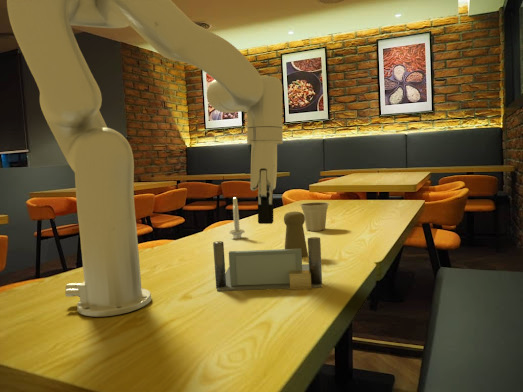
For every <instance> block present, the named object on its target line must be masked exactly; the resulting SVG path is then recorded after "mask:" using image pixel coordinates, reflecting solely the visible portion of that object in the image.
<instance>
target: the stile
mask: <svg viewBox="0 0 523 392" xmlns="http://www.w3.org/2000/svg"><path fill="white" fill-rule="evenodd" d="M321 245H322V244H321V237H318V236H312V237H308V238H307V252H308V256H307V257H308V264H309V270H305V271H289V278H290V288H289V290H290V291H297V290H300V291H301V290H312V289H313V288H311V284H313V285H318V284H322V285H323V273H322V272H323V271H322V270H323V267H322V250H321V249H322V247H321Z"/></svg>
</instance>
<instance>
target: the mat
mask: <svg viewBox="0 0 523 392" xmlns="http://www.w3.org/2000/svg"><path fill="white" fill-rule="evenodd" d="M305 270H309V263H307V264H303V263H302V271H305ZM225 274H226V286H225V287H222V288H216V291H217V292H218V291H219V292H220V291H222V292H224V291H225V292H227V291H253V290H255V291H256V290H257V291H258V290H279V289H280V290H281V289H282V290H283V289H290V283H288V284H259V285H237V286H231V283H230V267H228V268H227V270H226V271H225ZM322 287H323V283H322V284H318V285H313V284H311V288H312V289H313V288H317V289H318V288H322Z"/></svg>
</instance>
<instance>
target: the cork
mask: <svg viewBox="0 0 523 392" xmlns="http://www.w3.org/2000/svg"><path fill="white" fill-rule="evenodd" d="M283 222H284V225H285V227H286V229H285V237H284V238H285V239H284V249H300V248H301V252H302V259H303V258H306V257H308V246H307V241H306V236H305V230H304V224H305V217H304V214H303V212H300V211H290V212H286V213H285V214H284V217H283Z"/></svg>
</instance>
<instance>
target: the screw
mask: <svg viewBox="0 0 523 392" xmlns="http://www.w3.org/2000/svg"><path fill="white" fill-rule="evenodd" d="M232 203H233V204H232V213H233V214H232V216H233V228H234V229H230V230H229V234H230V235H232V236H233V239H234V240H238V239H239V240H240V239H242V235H243V234H244V233H245V230H244V229H242V228H241V229H240V215H239V205H238V197H236V196H234V197H233V198H232Z"/></svg>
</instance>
